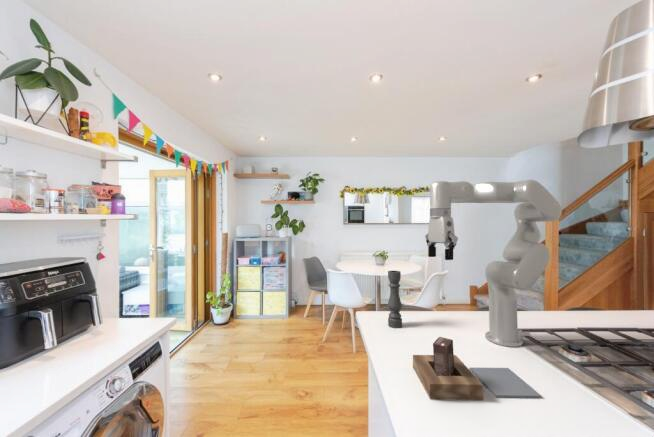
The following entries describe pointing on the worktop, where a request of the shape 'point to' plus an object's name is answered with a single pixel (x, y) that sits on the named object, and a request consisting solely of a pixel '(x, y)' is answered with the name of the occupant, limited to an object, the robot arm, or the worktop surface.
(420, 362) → the pocket block
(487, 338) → the robot arm
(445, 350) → the box
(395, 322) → the candle holder
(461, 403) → the worktop surface
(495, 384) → the mat
